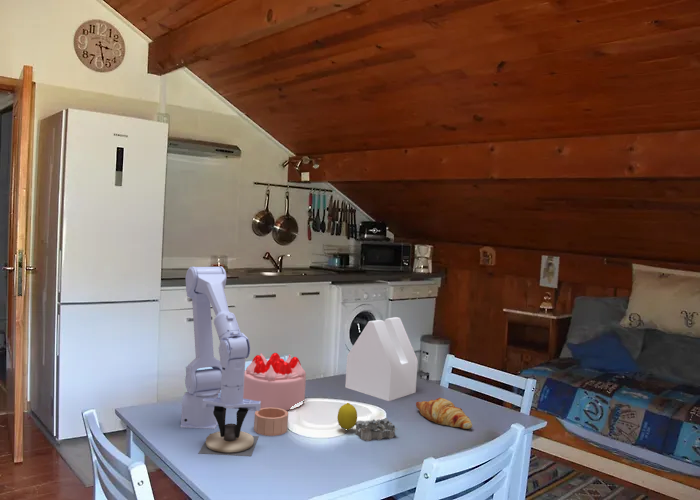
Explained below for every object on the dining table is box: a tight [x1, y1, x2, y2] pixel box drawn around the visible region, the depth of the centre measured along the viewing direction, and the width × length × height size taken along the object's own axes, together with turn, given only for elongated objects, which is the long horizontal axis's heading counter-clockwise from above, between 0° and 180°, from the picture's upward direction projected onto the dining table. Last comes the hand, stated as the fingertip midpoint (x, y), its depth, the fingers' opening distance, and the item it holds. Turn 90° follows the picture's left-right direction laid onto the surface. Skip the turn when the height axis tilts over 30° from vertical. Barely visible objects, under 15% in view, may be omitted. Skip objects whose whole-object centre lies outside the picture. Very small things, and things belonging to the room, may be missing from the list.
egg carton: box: [355, 417, 398, 441], centre depth 167 cm, size 11×8×4 cm
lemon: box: [337, 402, 358, 431], centre depth 168 cm, size 6×6×8 cm
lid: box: [205, 422, 254, 452], centre depth 153 cm, size 12×12×4 cm
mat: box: [197, 435, 259, 457], centre depth 153 cm, size 13×13×1 cm
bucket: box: [253, 407, 289, 437], centre depth 165 cm, size 9×9×5 cm
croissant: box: [415, 396, 473, 430], centre depth 182 cm, size 21×10×8 cm, turn 44°
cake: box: [243, 352, 307, 412], centre depth 190 cm, size 20×20×14 cm
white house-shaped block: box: [344, 316, 419, 402], centre depth 209 cm, size 19×15×25 cm
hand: (230, 436), depth 153 cm, fingers closed on lid, 3 cm apart
